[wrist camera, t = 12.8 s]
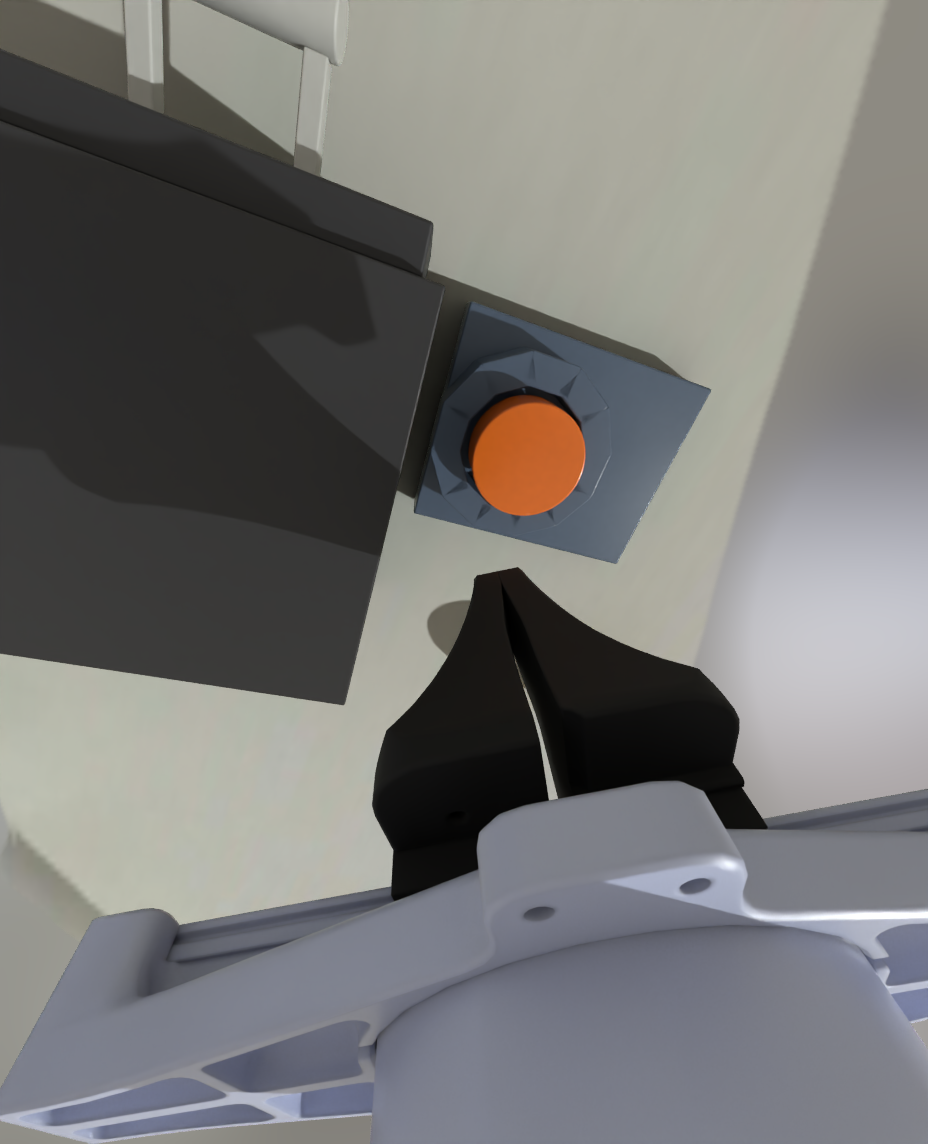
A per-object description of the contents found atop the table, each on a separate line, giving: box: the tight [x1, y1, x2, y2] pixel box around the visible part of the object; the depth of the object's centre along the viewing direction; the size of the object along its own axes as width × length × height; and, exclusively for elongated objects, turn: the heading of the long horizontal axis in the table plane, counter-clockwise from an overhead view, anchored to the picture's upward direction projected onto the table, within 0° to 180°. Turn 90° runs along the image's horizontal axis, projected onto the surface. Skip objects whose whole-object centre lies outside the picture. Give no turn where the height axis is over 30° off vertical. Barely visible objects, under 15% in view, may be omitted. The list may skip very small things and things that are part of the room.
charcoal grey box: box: [0, 121, 445, 705], centre depth 16 cm, size 15×13×9 cm
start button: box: [468, 395, 586, 516], centre depth 17 cm, size 4×4×2 cm
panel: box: [414, 301, 711, 564], centre depth 20 cm, size 11×9×4 cm
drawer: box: [0, 0, 433, 279], centre depth 14 cm, size 18×11×7 cm, turn 163°
